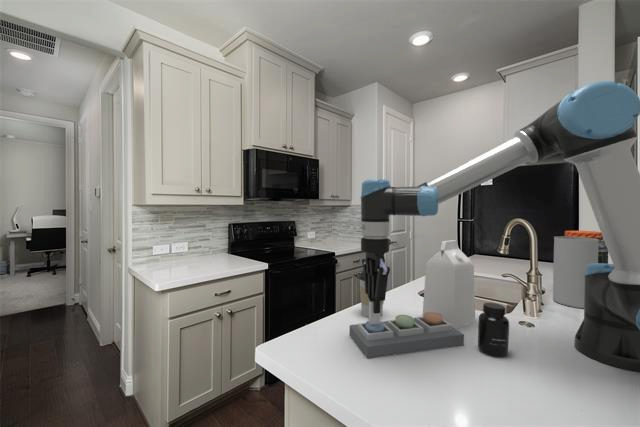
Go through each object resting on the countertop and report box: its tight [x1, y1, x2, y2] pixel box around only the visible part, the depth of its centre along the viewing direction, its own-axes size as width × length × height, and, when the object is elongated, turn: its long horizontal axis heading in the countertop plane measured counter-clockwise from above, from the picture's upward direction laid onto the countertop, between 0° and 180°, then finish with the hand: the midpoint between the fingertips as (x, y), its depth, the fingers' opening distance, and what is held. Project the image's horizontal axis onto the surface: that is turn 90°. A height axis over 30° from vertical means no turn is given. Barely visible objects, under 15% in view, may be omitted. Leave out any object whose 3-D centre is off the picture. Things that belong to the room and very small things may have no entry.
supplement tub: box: [564, 230, 609, 264], centre depth 126 cm, size 16×16×26 cm
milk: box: [421, 239, 477, 330], centre depth 95 cm, size 12×12×26 cm
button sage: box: [394, 314, 415, 328], centre depth 81 cm, size 5×5×2 cm
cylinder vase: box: [552, 235, 598, 310], centre depth 109 cm, size 12×12×25 cm
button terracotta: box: [424, 312, 442, 324], centre depth 83 cm, size 5×5×2 cm
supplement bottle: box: [477, 302, 510, 358], centre depth 74 cm, size 7×7×12 cm
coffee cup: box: [358, 271, 385, 318], centre depth 100 cm, size 9×9×15 cm
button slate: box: [365, 320, 384, 333], centre depth 78 cm, size 5×5×2 cm
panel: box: [349, 316, 465, 360], centre depth 81 cm, size 13×28×4 cm, turn 104°
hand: (374, 323), depth 78 cm, fingers closed
